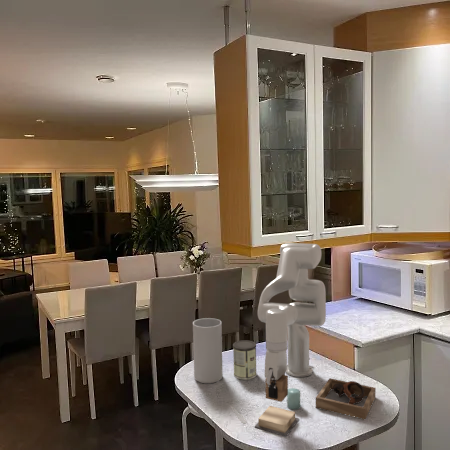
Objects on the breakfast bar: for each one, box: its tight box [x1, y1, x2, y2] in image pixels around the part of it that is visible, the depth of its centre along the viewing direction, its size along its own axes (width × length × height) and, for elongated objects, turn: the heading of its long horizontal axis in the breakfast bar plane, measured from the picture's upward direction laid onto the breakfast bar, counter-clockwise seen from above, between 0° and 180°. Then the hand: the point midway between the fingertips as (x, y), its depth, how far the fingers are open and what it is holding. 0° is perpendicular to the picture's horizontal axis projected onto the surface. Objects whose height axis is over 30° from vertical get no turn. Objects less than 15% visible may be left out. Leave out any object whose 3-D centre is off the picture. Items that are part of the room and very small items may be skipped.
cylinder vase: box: [192, 317, 224, 384], centre depth 195 cm, size 12×12×25 cm
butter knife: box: [229, 405, 247, 425], centre depth 171 cm, size 1×27×3 cm
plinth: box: [254, 405, 300, 437], centre depth 158 cm, size 12×12×3 cm
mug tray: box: [315, 377, 377, 420], centre depth 172 cm, size 18×18×4 cm
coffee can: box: [232, 339, 257, 381], centre depth 197 cm, size 10×10×14 cm
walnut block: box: [264, 374, 289, 403], centre depth 157 cm, size 6×6×7 cm
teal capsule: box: [286, 387, 301, 411], centre depth 170 cm, size 5×5×6 cm
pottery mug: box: [332, 380, 365, 405], centre depth 174 cm, size 12×10×8 cm
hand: (276, 393), depth 157 cm, fingers closed on walnut block, 6 cm apart
